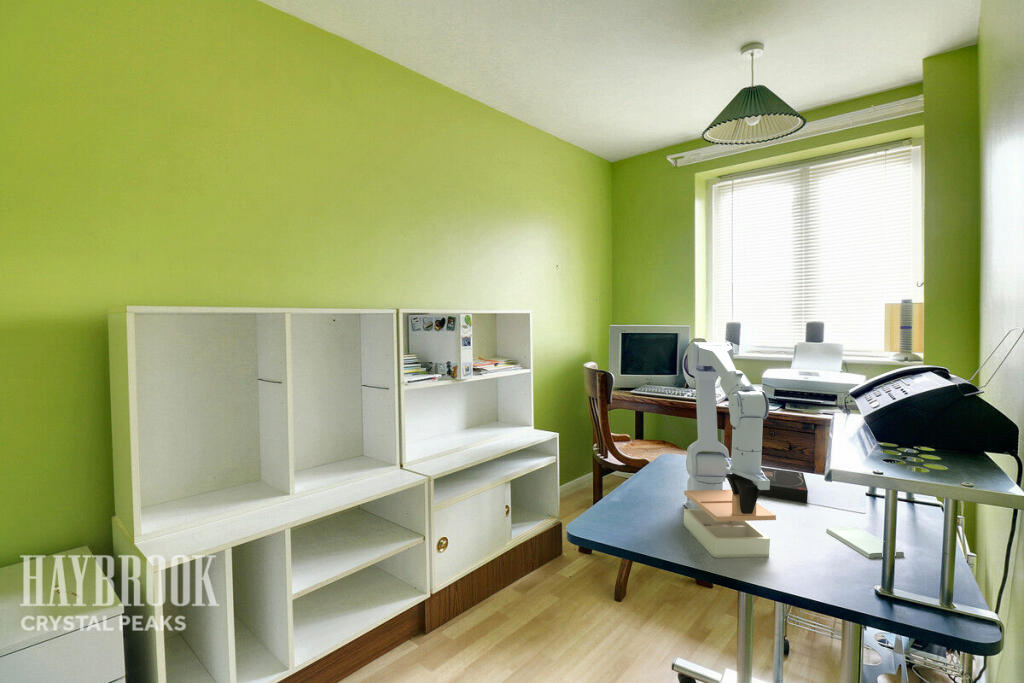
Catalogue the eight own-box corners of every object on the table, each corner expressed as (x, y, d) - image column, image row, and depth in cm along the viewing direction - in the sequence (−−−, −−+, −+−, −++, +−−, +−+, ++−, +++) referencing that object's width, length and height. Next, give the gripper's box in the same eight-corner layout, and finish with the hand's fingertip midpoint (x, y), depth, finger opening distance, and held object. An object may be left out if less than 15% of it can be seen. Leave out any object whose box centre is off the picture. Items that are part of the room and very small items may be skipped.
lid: (684, 494, 120) (684, 474, 120) (735, 493, 121) (735, 473, 121) (716, 521, 103) (717, 497, 103) (775, 520, 104) (776, 496, 104)
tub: (683, 524, 120) (684, 508, 120) (731, 523, 121) (731, 508, 121) (714, 558, 104) (714, 539, 104) (769, 556, 105) (769, 538, 105)
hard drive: (904, 551, 106) (858, 526, 118) (869, 553, 105) (826, 527, 117) (903, 559, 106) (857, 532, 118) (868, 561, 105) (825, 534, 117)
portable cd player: (740, 476, 157) (740, 464, 156) (802, 485, 149) (803, 472, 149) (738, 494, 142) (738, 480, 142) (807, 505, 134) (807, 490, 134)
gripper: (712, 438, 111) (710, 497, 112) (746, 458, 96) (743, 526, 97) (742, 438, 111) (740, 497, 112) (781, 458, 97) (778, 525, 98)
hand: (744, 510), depth 105 cm, fingers closed on lid
